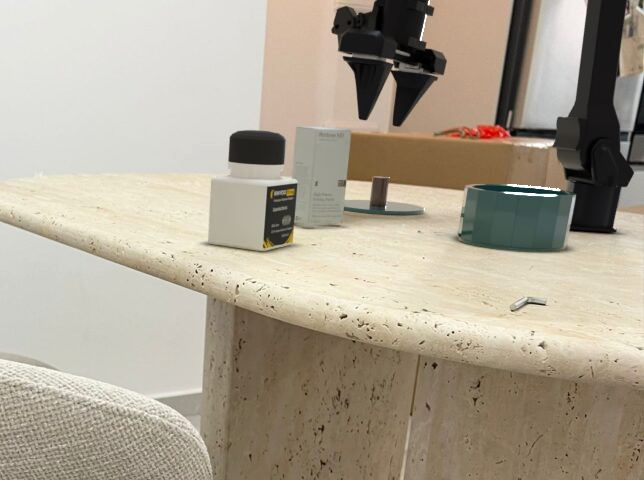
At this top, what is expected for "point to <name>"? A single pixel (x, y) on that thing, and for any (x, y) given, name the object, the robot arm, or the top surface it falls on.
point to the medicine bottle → (253, 195)
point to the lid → (381, 201)
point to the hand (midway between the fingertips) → (379, 123)
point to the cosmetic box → (320, 175)
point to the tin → (516, 217)
